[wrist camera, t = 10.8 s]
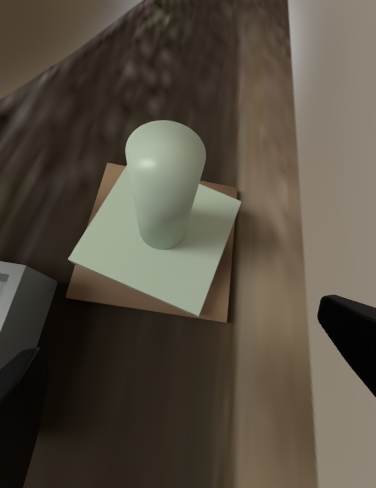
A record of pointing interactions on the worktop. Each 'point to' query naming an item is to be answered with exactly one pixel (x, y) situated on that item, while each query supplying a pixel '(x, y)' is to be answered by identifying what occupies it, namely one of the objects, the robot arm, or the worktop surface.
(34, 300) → the storage box
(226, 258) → the walnut board
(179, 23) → the worktop surface
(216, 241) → the lid
